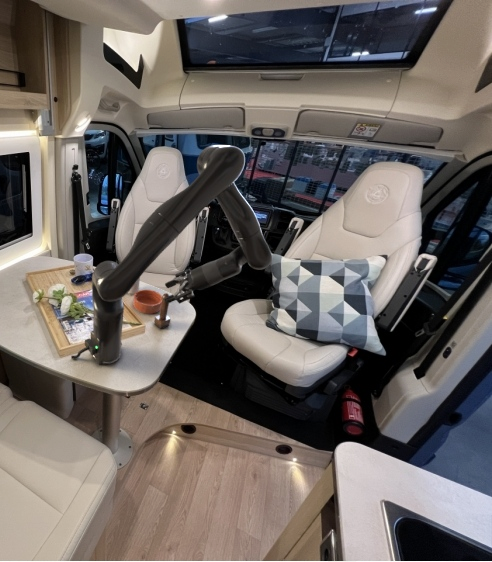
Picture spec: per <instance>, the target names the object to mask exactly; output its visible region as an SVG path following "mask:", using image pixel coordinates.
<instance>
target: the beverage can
mask: <svg viewBox="0 0 492 562" xmlns="http://www.w3.org/2000/svg"><path fill="white" fill-rule="evenodd" d="M140 281H141V277H140V278H139V279H138V280H137V282H136V283H135V284H134V285H133V287H132V288H131V289H130V290H129V292H128V293H127V294H129V295H134V294H135V293H136V292H137V291H140V283H141V282H140Z"/></svg>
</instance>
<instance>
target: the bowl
mask: <svg viewBox="0 0 492 562" xmlns="http://www.w3.org/2000/svg"><path fill="white" fill-rule="evenodd" d="M162 296H163V295H162V294H161V293H159V292H158V291H155V290H152V289H139V291H137V292H136V293H135V294H133V300H132V306H133V308H134V309H135V310H136V311H138V312H139V313H142V314H147V315H149V314H150V315H151V314H156V313H158V312H160V311H161V304H162Z"/></svg>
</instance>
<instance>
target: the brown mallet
mask: <svg viewBox="0 0 492 562" xmlns="http://www.w3.org/2000/svg"><path fill="white" fill-rule="evenodd" d="M161 296H162V304H161V310H160V311H159V315H156V316H154V321H153V322H154V325H155V326H156V327H157V328H158V329H159V330H161V329H164V328H166V327H169V326H170V324H171V320H172V319H171V317H170V316H168V311H169V306H170V305H169V304H170V303H166V302H165V300H164V298H165V297H168V296H170V294H169V293H163V294H162V295H161Z"/></svg>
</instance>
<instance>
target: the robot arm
mask: <svg viewBox="0 0 492 562" xmlns="http://www.w3.org/2000/svg"><path fill="white" fill-rule="evenodd" d="M245 156H246V155H245V153H244V152H243V150H242V149H241V148H239V147H237V146H235V145H228V144H213V145H208V146H207V147H205V148H204V149H203V150H202V151H201V152H200V153H199V155H198V157H197V161H196V162H197V163H196V169H197V172H198V175H197V177H196V178H195V180H194V181H192V183H190V184H189V185H188V186H187V187H186V188H184V189H183V190H181V191H180V192H178V193H177V194H175V195H174V196H171V197H170V198H169V199H167V200H166V201H164V202H163V203H161V204H160V205H159V206H158V207H157V208H156V209H155V210H154V211H153V212H152V213H151V214H150V215H149V216H148V217H147V218H146V220H145V221H144V222H143V223H142V225H141V227H140V228H139V230H138V232H137V234H136V236H135V238H134V241H133V243H132V245H131V248H130V250H129V252H128V253H127V254H126V255H125V257H124V258H123V259H122V260H121V262H120V263H117V262H115V261H112V260H104V261H101V262H100V263H99V264H97V265H96V267H95V268H94V270H93V272H92V277H91V289H92V290H91V299H92V307H93V317H92V318H93V321H92V322H93V323H92V325H93V327H92V330H91V331H90V338H89V337H88V338H87V339H84V346H85V347H84V348H81V349H80V350H79V351H78V352H77V354H76V355H71V357H70V358H71V359H72V360H76V359H78V358H80V356H81V355H82V354H84V352H86V351H88V352H89V353H90V355H91V356H92V358H93V359H94V360H95V361H96V363H97V364H98V365H102V364H103V365H111V364H114V363H116V362H117V361H118V360H119V359H120V358H121V354H122V353H121V351H122V350H121V348H122V345H123V344H122V335H123V324H124V312H125V305H124V301H123V298H124V297H125V296H126V295H127V294H129V293H128V292H129V290H130V289H131V288H132V287H133V285H134V284H135V283H136V282H137V280H138V279H139V278H140V279H141V276H142V275H143V274H144V273H145V271H146V270H147V269H149V267H150V266H151V265H152V264H153V263H154V262H155V261H156V260H157V259H158V257H159V256H161V254H162V253H163V252H164V250H166V249H167V248H168V247H169V246H170V245H171V244H172V243H173V242H174V241H175V240H176V239H177V238H178V237H179V236H180V235H181V234H182V233H183V231H184V230H185V229H186V228H187V227H188V226H189V225H190V224H191V223H192V221H194V220H195V219H196V218H197V216H198V215H199V214H201V212H203V210H204V209H205V208H206V207H207V206H208V205H209V204H210V203H212V202H213V201H214V200H215V199H216V200H217V202H218V204H219V205H220V207H221V209H222V211H223V212H224V214H225V217H226V219H227V221H228V223H229V225H230V227H231V229H232V231H233V233H234V235H235V237H236V240H237V241H238V243H239V246H238V247H236V248H235V249H233V250H232V251H231V252H229V254H226V255H224V256H222V257H220V258H217V259H215V260H212V261H208V262H207V263H205V264H203V265H200V266H198V267H196V268H194V269H190V268H187V269H185V270H182V271H180V272H178V273H175V275H174V276H175V277H173V279H171V280H169V281H167V282H165V283H164V286H165V287H166V289H171V288H173V287H175V286H177V285H179V286H178V288H177V291H175V293H173V294H171V295H170V294H169V295H170V296H168V297H165V298H164V300H165V302H166V303H169V304H171V303H173V302H177V303H178V304H179V305H180V304H182V303H184V302H186V301H188V300H191V299H193V298H195V294H194V291H196V290H198V291H202V290H205V289H207V288H210V287H213V286H214V285H217V284H220V283H221V282H224V280H227V279H229V278H232V277H235V276H236V275H239V274H240V273H241V272H242V267H243V266H244V265H246V263H247V264H248V265H249V267H250V268H252V269H254V270H258V271H259V270H261V271H262V270H265V269H267V268H268V267H269V266H270V265H271V264H272V262H273V254H272V251H271V249H270V247H269V245H268V243H267V241H266V239H265V237H264V234H263V232H262V228H261V225H260V222H259V220H258V217H257V215H256V213H255V212H254V210H253V207H251V205H250V204H249V202H248V201H247V200H246V198H245V197H244V196H243V194H241V192H240V191H239V189H238V187H237V185H236V183H235V181H237V180H238V178H239V177H240V176H241V174H242V172H243V170H244V168H245V163H246V157H245Z"/></svg>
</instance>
